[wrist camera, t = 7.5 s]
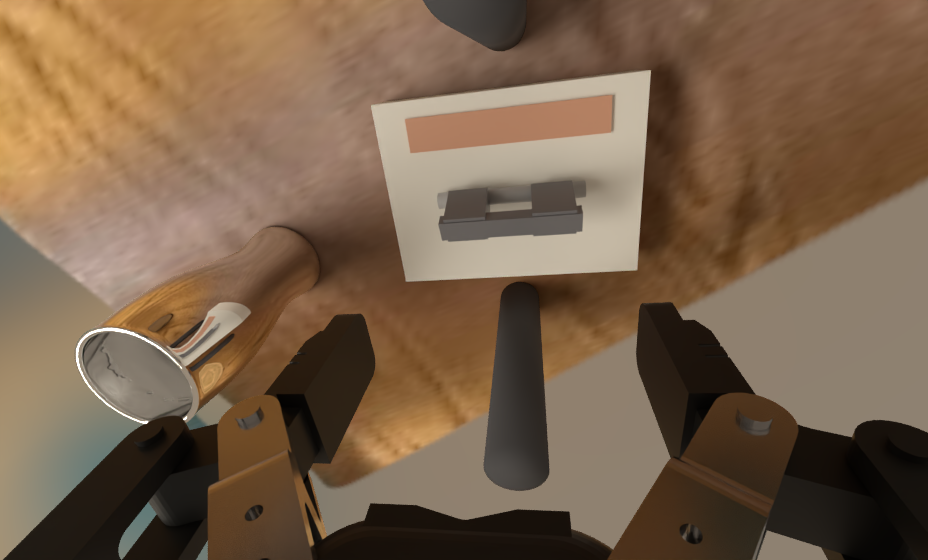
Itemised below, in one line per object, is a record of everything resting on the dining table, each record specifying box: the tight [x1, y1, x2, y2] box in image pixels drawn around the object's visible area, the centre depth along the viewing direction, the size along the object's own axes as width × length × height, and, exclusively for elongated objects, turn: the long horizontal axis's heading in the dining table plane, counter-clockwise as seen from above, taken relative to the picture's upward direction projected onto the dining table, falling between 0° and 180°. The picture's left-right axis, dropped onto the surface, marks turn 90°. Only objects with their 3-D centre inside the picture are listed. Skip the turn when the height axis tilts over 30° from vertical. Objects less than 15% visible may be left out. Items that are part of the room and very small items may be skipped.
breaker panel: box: [371, 70, 651, 282], centre depth 28 cm, size 12×16×3 cm
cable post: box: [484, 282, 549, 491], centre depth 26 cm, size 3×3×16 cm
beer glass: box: [75, 227, 320, 424], centre depth 28 cm, size 7×7×15 cm
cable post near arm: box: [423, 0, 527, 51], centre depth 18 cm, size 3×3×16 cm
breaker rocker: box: [437, 180, 586, 242], centre depth 25 cm, size 2×9×4 cm, turn 97°
